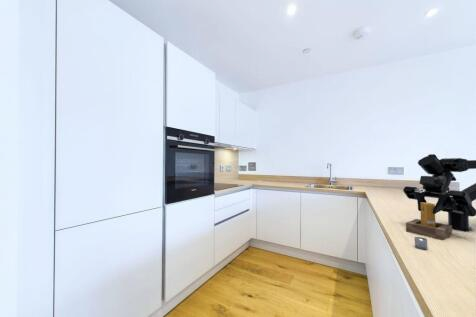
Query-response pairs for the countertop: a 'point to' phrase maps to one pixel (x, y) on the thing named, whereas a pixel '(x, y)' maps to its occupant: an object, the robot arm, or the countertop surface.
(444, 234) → the hole block
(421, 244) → the short metal stub
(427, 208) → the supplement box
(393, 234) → the countertop surface
